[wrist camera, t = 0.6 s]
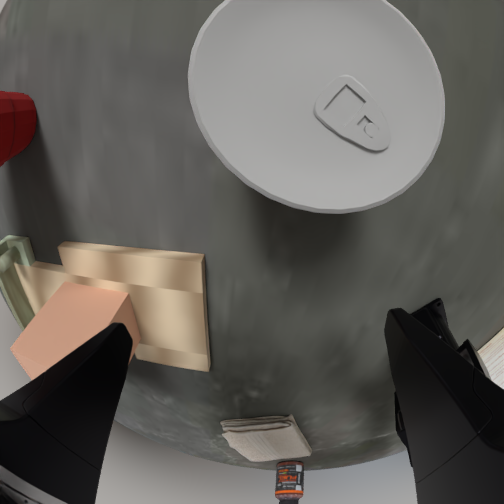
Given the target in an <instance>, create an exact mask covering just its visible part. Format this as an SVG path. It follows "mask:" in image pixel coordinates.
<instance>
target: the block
mask: <svg viewBox="0 0 504 504" xmlns="http://www.w3.org/2000/svg"><path fill="white" fill-rule="evenodd" d="M114 322H120V323H123V324H125V326H126V328H127V330H128V331H129V333H130V335H131V337H132V339H133V347H132V351H131V356H130V360H129V363H130V361H131V359H132V357H133V354H134V352H135V350H136V348H137V346H138V344H139V342H140V340H141V336H140V333H139V329H138V326H137V322H136V319H135V315H134V311H133V308H132V304H131V300H130V296H129V293H126V292H120V291H114V290H108V289H103V288H97V287H91V286H86V285H81V284H76V283H71V282H66V281H65V282H64V283H63V284H62V285H61V286H60V287H59V288H58V289H57V291H56V292H55V293H54V294H53V295H52V296H51V297H50V299H49V300H48V301H47V302H46V303H45V305H44V306H43V307H42V308H41V309H40V311H39V312H38V313H37V314H36V315H35V317H34V318H33V319H32V320H31V322H30V323H29V324H28V325H27V327H26V328H25V329H24V331H23V332H22V333H21V335H20V336H19V337H18V339H17V340H16V341H15V343H14V344H13V345H12V347H11V348H10V349H11V351H12V352H13V354H14V355H15V357H16V358H17V360H18V361H19V363H20V364H21V365H22V367H23V368H24V370H25V371H26V372H27V374H28V375H29V377H30V378H31V379H32V380H33V379H35V378H36V377H38V376H39V375H40V374H42V373H43V372H46V370H47V369H49V368H50V367H51V366H53V365H54V364H56V363H57V362H58V361H60V360H61V359H62V358H64V357H65V356H67V355H68V354H69V353H71V352H72V351H74V350H75V349H76V348H78V347H79V346H81V345H82V344H83V343H85V342H86V341H88V340H89V339H90V338H92V337H93V336H95V335H96V334H97V333H99V332H100V331H102V330H103V329H105V328H106V327H107V326H109V325H110V324H112V323H114Z"/></svg>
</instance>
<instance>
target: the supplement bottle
mask: <svg viewBox="0 0 504 504" xmlns="http://www.w3.org/2000/svg"><path fill="white" fill-rule="evenodd" d="M303 480H304V465H303V463H302V462H299V461H284V462H280V463H278V464H277V473H276V488H275V496H276V498H277V499H279V500H280V502H279V504H298V500H299V499H300V498H301V497H302V496H303V484H304V482H303Z"/></svg>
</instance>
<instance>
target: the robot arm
mask: <svg viewBox="0 0 504 504" xmlns="http://www.w3.org/2000/svg"><path fill="white" fill-rule="evenodd" d="M384 333H385V339H386V344H387V350H388V355H389V361H390V367H391V373H392V377H393V381H394V385H395V389H396V392H395V393H394V394H395V419H396V431H397V435H398V436H399V437H400V439H401V441H402V442H403V443H404V445H405V446H406V447H407V451H408V454H409V459H410V464H411V467H413V471H414V477H415V483H416V492H417V501H418V504H504V389H502V388H501V387H500V386H498V385H497V384H496V383H494V382H493V381H492V380H491V377H490V375H489V372H488V370H487V368H486V366H485V364H484V362H483V360H482V359H481V357H480V355H479V353H478V352H477V351H476V349H475V348H474V346H473V345H472V344H471V342H470V341H469V340H468V339H467V340H466V341H464V342H463V344H462V345H461V346H460V347H459V346H458V344H457V342H456V340H455V339H454V337H453V335H452V333H451V331H450V329H449V328H448V323H447V318H446V313H445V309H444V305H443V301H442V300H441V298H437V299H436V300H434V301H432V302H431V303H429V304H428V305H426V306H424V307H423V308H421V309H419V310H418V311H416V312H414V313H412V314H411V315H410V314H409V313H407V312H406V311H405V310H403V309H402V308H395V309H390V310H389V311H388V314H387V319H386V324H385V329H384ZM132 347H133V339H132V337H131V335H130V333H129V331H128V330H127V328H126V326H125V324H123V323H120V322H114V323H112V324H110V325H109V326H107V327H106V328H105V329H103V330H102V331H100V332H99V333H97V334H96V335H95V336H93V337H92V338H90V339H89V340H88V341H86V342H85V343H83V344H82V345H81V346H79V347H78V348H76V349H75V350H74V351H72V352H71V353H69V354H68V355H67V356H65V357H64V358H62V359H61V360H60V361H58V362H57V363H56V364H54V365H53V366H51V367H50V368H49V369H47V370H46V372H43V373H42V374H40V375H39V376H38V377H36V378H35V379H33V380H32V381H31V382H29V383H28V384H26V385H25V386H23V387H22V388H20V389H18V390H17V391H15V392H14V393H12V394H10V395H9V396H7V397H6V398H4V399H2V400H1V401H0V504H95V500H96V494H97V489H98V484H99V478H100V474H101V469H102V464H103V460H104V455H105V451H106V447H107V443H108V438H109V435H110V431H111V427H112V424H113V420H114V416H115V413H116V409H117V406H118V402H119V399H120V395H121V392H122V389H123V386H124V382H125V379H126V374H127V370H128V365H129V360H130V356H131V351H132Z"/></svg>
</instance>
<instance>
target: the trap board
mask: <svg viewBox="0 0 504 504" xmlns="http://www.w3.org/2000/svg"><path fill="white" fill-rule="evenodd" d="M58 250H59V254H60V257H61V261H62V264H63V265H57V264H51V263H45V262H39V261H36V259H35V256H34V253H33V250H32V247H31V243H30V240H29V237H22V236H12V235H8V236H6V237H5V238H4V239H2V240H1V241H0V287H1V289H2V291H3V293H4V296H5V298H6V300H7V302H8V304H9V306H10V308H11V310H12V312H13V314H14V316H15V318H16V320H17V322H18V324H19V326H20V328H21V329H22V331H24V329H25V328H26V327H27V325H28V324H29V323H30V322H31V320H32V319H33V318H34V317H35V315H36V314H37V313H38V312H39V311H40V309H41V308H42V307H43V306H44V305H45V303H46V302H47V301H48V300H49V299H50V297H51V296H52V295H53V294H54V293H55V292H56V291H57V289H58V288H59V287H60V286H61V285H62V284H63V283H64V282H65V281H66V282H71V283H76V284H81V285H86V286H91V287H97V288H103V289H108V290H114V291H120V292H126V293H129V296H130V300H131V304H132V308H133V311H134V315H135V319H136V322H137V326H138V329H139V333H140V336H141V340H140V342H139V344H138V346H137V348H136V350H135V355H136V358H137V359H140V360H145V361H150V362H154V363H159V364H164V365H170V366H175V367H181V368H187V369H193V370H200V371H206V372H209V368H210V364H211V362H210V350H209V336H208V320H207V302H206V281H205V254H197V253H186V252H175V251H164V250H154V249H143V248H133V247H122V246H112V245H101V244H91V243H81V242H71V241H64V242H63V243H61V244H60V245H59V246H58Z"/></svg>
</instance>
